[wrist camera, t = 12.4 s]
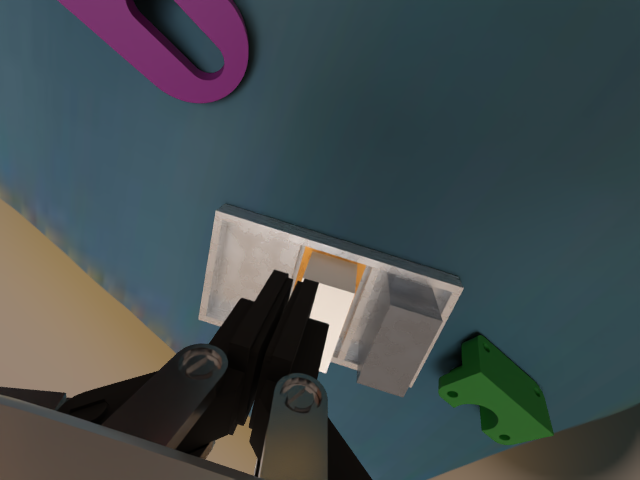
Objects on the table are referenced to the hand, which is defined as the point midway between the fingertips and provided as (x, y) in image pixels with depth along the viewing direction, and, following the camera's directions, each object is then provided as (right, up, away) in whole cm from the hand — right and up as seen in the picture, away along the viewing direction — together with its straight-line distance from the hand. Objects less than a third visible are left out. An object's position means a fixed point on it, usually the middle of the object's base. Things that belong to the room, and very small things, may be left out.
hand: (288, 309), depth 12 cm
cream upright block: (+1, -4, +27) cm, 27 cm away
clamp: (+20, -13, +29) cm, 38 cm away
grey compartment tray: (+2, -4, +27) cm, 28 cm away
